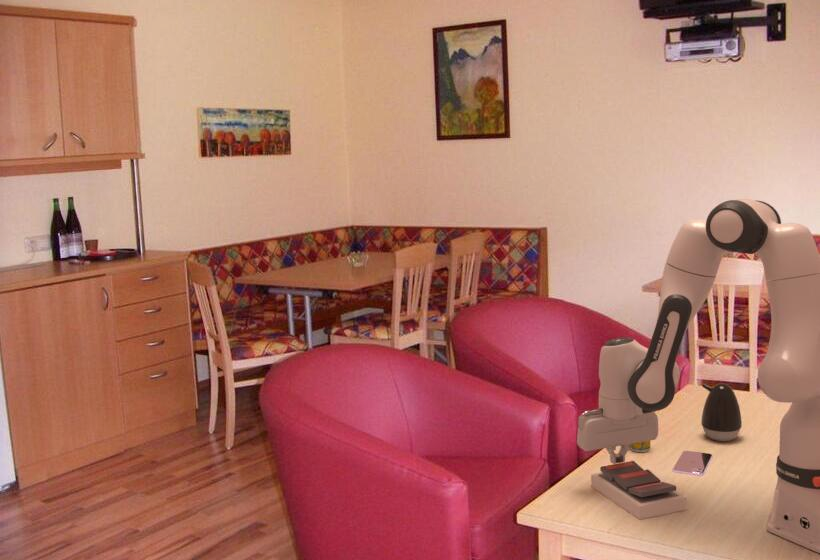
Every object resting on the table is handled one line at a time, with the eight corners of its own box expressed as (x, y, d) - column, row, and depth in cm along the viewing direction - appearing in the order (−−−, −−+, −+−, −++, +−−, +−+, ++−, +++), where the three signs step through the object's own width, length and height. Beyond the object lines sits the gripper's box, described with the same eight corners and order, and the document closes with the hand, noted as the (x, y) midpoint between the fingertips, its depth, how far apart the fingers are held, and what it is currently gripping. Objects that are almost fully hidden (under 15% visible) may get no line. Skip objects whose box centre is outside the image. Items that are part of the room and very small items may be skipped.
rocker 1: (645, 475, 212) (645, 471, 212) (611, 481, 209) (611, 477, 209) (633, 464, 217) (633, 460, 216) (600, 470, 214) (600, 466, 213)
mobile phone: (713, 453, 232) (703, 474, 219) (713, 456, 232) (703, 477, 219) (683, 449, 235) (670, 469, 222) (683, 452, 235) (670, 473, 222)
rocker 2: (660, 484, 207) (660, 480, 206) (626, 490, 204) (626, 486, 203) (647, 473, 211) (648, 469, 211) (614, 479, 208) (614, 475, 208)
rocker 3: (676, 490, 201) (676, 485, 201) (641, 497, 198) (641, 492, 198) (663, 486, 206) (662, 481, 206) (628, 492, 203) (628, 487, 203)
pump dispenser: (708, 429, 251) (709, 375, 249) (746, 436, 245) (748, 381, 242) (694, 439, 243) (695, 385, 241) (733, 447, 237) (734, 391, 234)
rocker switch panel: (686, 509, 201) (686, 496, 200) (639, 519, 197) (639, 505, 196) (634, 478, 219) (634, 465, 219) (591, 486, 215) (591, 473, 215)
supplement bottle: (652, 447, 239) (652, 412, 237) (647, 454, 234) (647, 418, 233) (632, 444, 242) (632, 409, 240) (626, 451, 237) (626, 415, 235)
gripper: (585, 416, 206) (585, 473, 209) (662, 404, 213) (661, 460, 215) (571, 408, 212) (571, 464, 214) (647, 396, 219) (646, 451, 221)
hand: (617, 462), depth 215 cm, fingers closed
